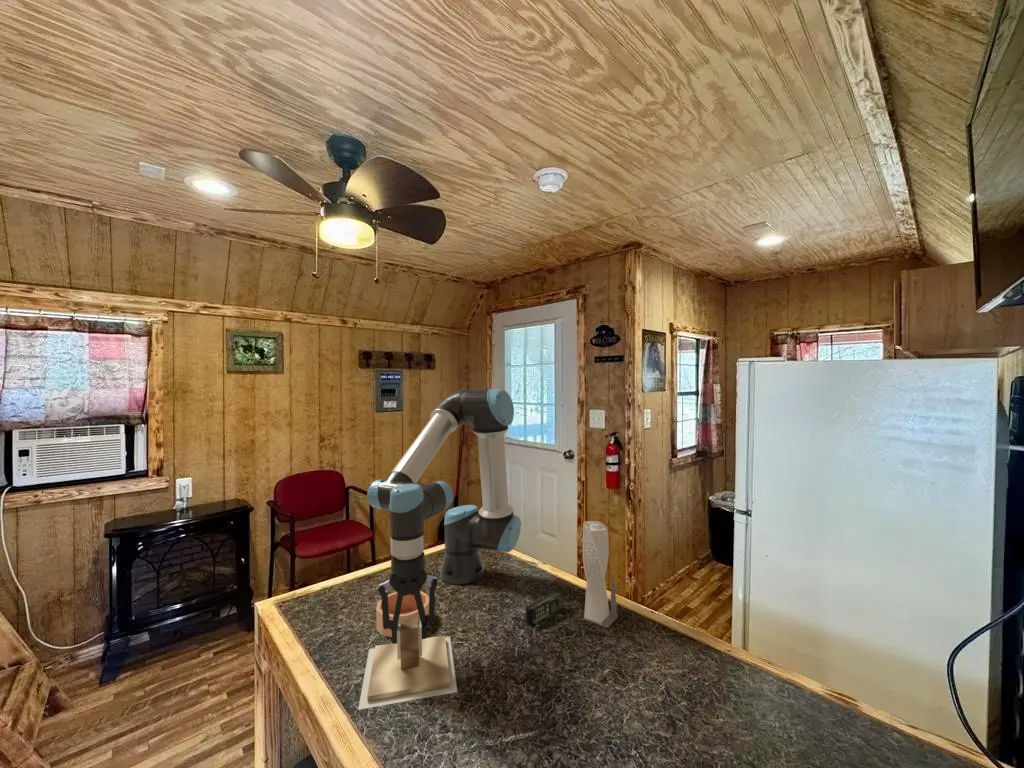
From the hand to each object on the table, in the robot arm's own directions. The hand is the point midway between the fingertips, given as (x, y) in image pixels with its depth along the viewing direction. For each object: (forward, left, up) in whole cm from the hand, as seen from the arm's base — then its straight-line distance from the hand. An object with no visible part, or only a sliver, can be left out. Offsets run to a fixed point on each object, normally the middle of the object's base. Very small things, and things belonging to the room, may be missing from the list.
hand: (410, 653), depth 96 cm
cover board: (0, 0, -3) cm, 3 cm away
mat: (0, 0, -4) cm, 4 cm away
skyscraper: (-51, -9, -4) cm, 52 cm away
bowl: (+2, -20, -4) cm, 20 cm away
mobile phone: (-37, -14, -4) cm, 40 cm away
